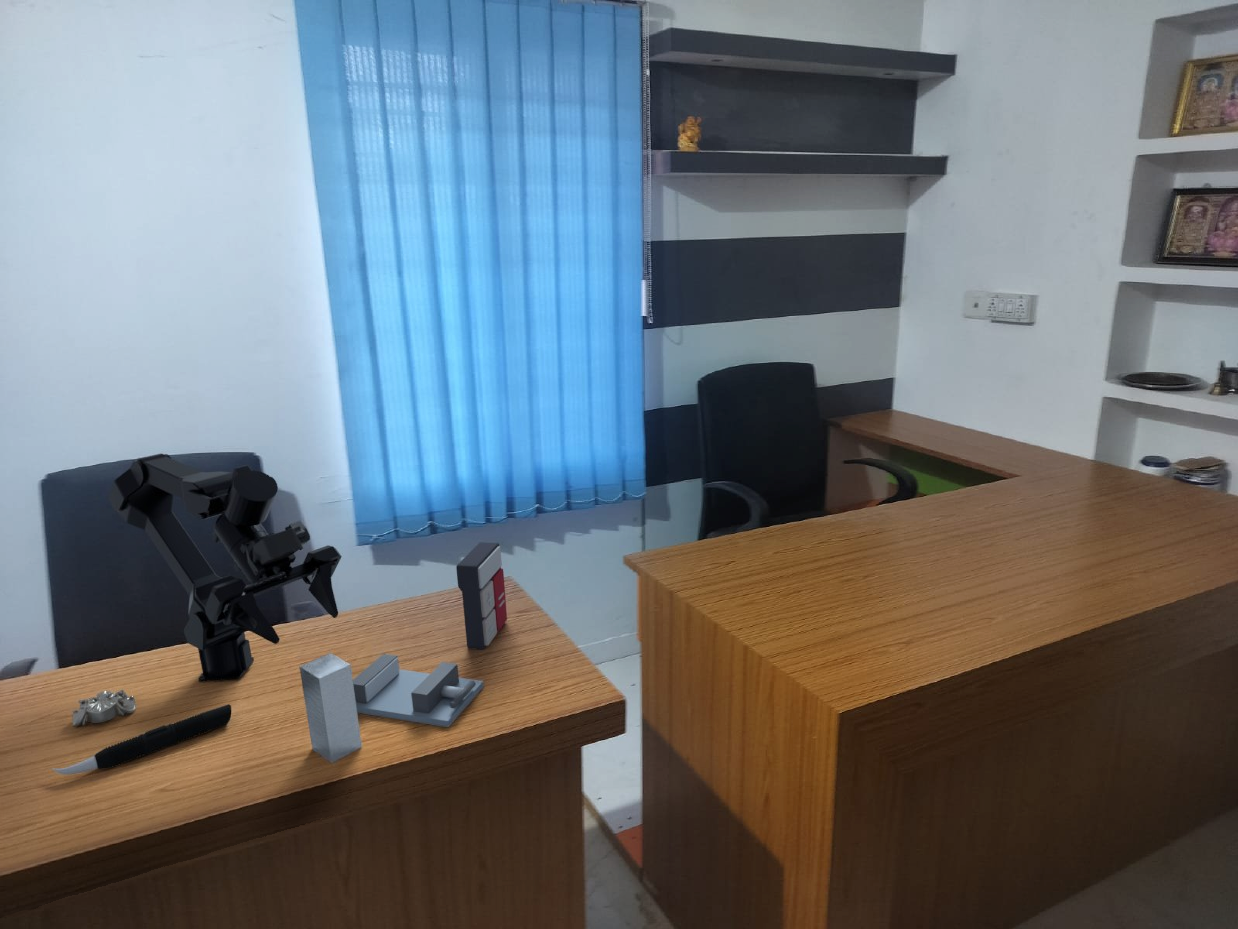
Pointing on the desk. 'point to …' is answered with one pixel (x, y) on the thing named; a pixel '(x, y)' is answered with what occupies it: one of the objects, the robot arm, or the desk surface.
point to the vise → (413, 692)
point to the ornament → (103, 707)
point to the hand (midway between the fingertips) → (308, 628)
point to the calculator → (482, 594)
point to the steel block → (331, 707)
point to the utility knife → (153, 741)
